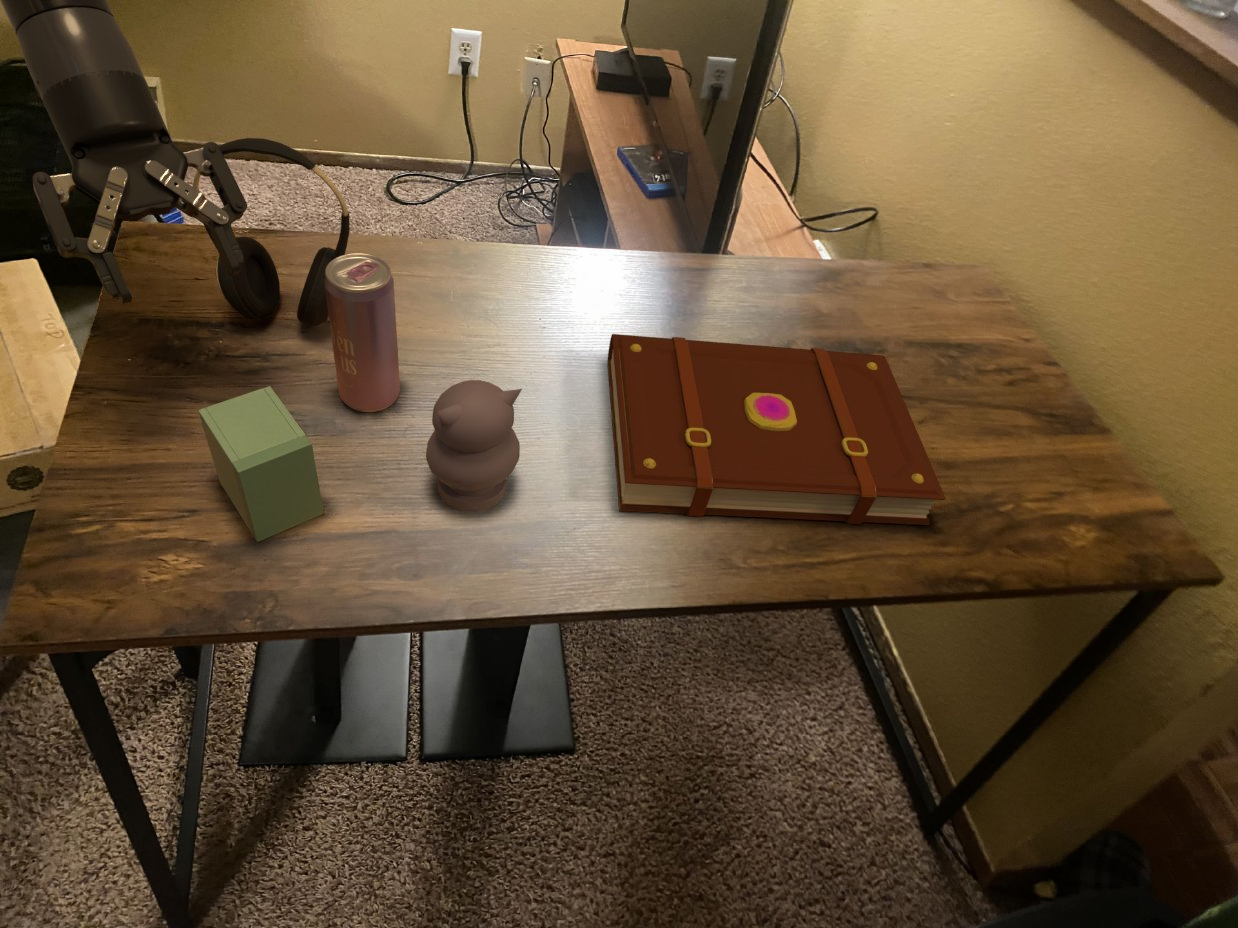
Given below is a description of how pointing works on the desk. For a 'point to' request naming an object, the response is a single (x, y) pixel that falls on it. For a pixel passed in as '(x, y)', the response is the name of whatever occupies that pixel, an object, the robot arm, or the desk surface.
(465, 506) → the cat figurine
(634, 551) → the desk surface
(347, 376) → the beverage can
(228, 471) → the green open-top box
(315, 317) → the headphones
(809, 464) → the book
